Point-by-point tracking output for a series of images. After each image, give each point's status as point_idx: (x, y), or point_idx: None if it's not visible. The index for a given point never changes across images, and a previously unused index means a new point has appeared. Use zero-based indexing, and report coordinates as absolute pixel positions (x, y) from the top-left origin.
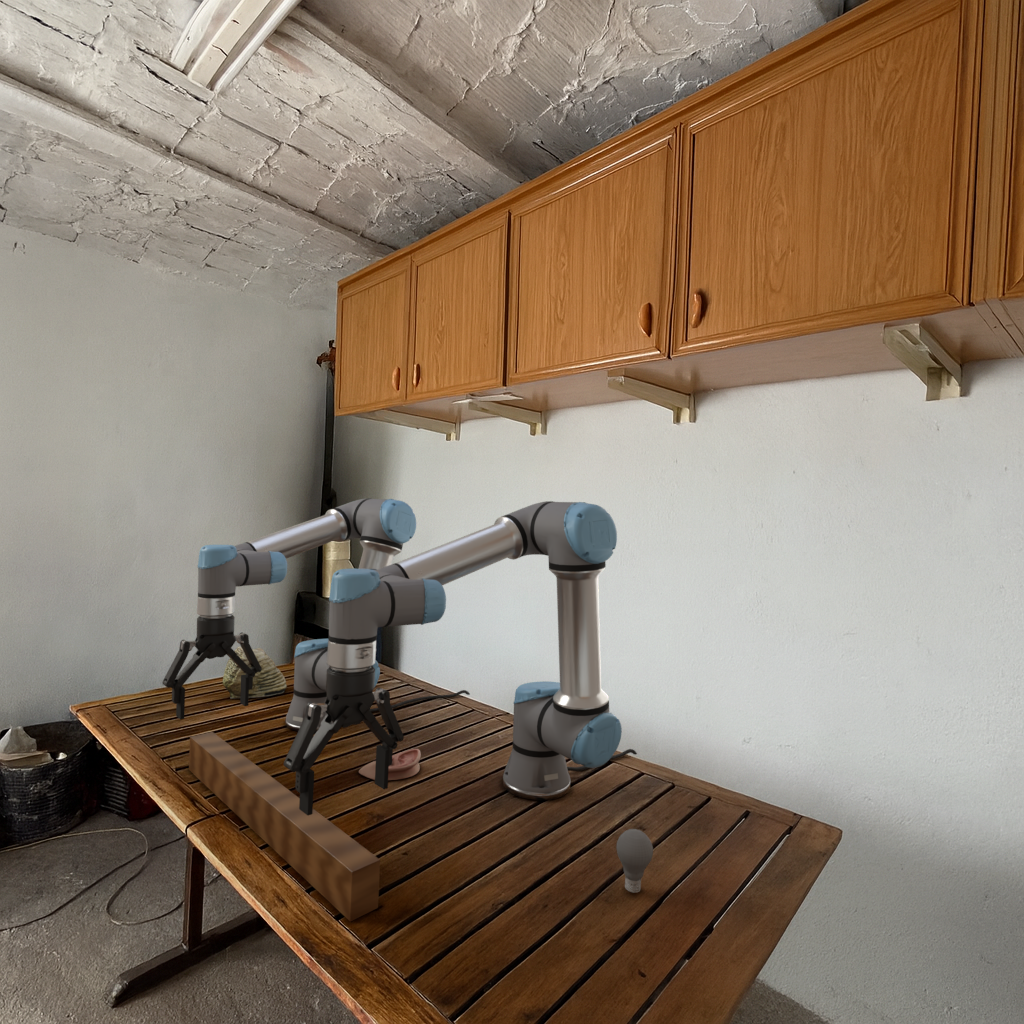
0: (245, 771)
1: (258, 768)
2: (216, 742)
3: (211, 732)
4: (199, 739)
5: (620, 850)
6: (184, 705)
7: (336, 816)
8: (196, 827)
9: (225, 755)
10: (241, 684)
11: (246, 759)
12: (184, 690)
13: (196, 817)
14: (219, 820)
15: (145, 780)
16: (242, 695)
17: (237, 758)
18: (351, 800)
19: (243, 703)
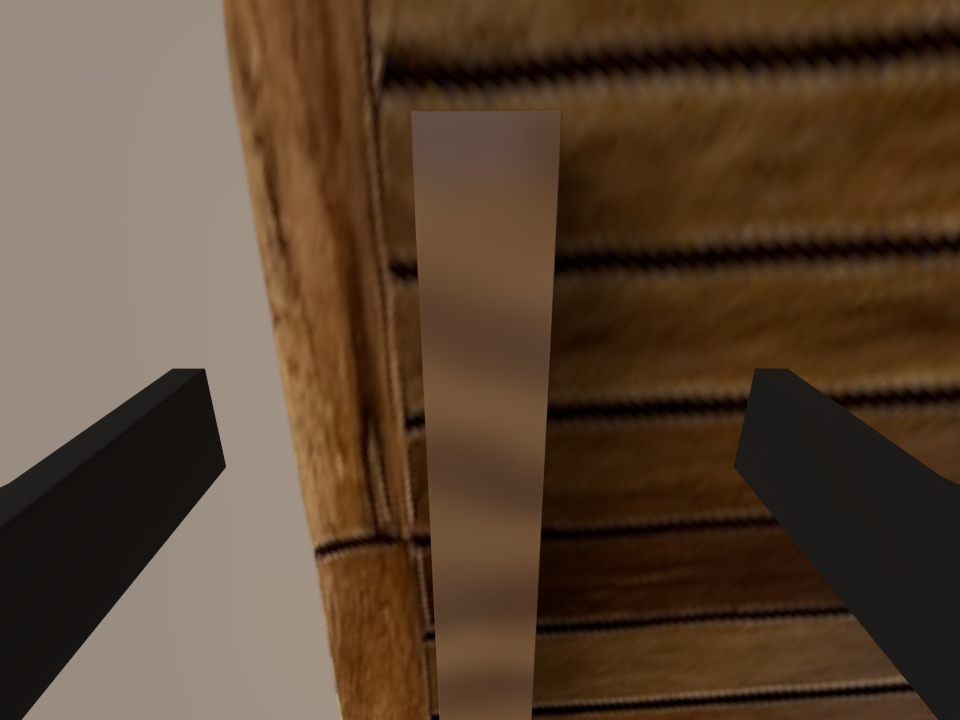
0: (477, 664)
1: (527, 668)
2: (506, 315)
3: (550, 121)
4: (445, 202)
5: None
6: (160, 545)
7: (643, 705)
8: (332, 571)
9: (476, 497)
10: (891, 500)
11: (530, 581)
12: (24, 708)
13: (346, 524)
14: (396, 572)
15: (239, 114)
16: (794, 459)
17: (504, 554)
18: (729, 667)
19: (749, 443)
